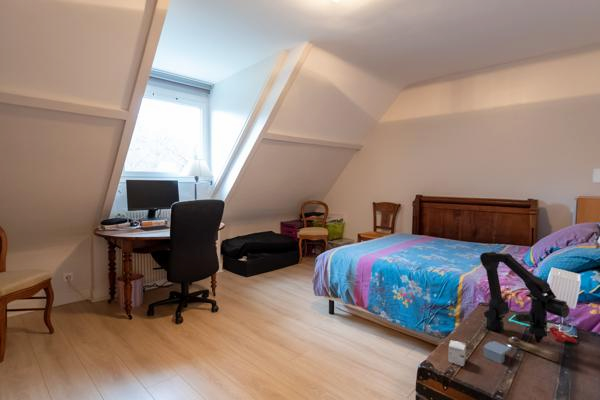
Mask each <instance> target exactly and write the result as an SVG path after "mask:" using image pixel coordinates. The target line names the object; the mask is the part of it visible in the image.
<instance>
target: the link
mask: <svg viewBox="0 0 600 400" xmlns="http://www.w3.org/2000/svg"><path fill="white" fill-rule="evenodd" d="M508 341H509V344H510V345H512V346H515V347H519V348H521V350H524V351H527V352H530V353H532V354H535V355H536V356H537V355H538V356H540V357H542V358H544V359H547V360H550V361H551V362H552V361H553V362H554V363H556V362H558V361H559V360H560V359H559V356H560V354H558V353H557V352H553V351H550V350H548V349H545V348H542V347H540V346H537V345H534V344H531V343H529V342H526V341H524V340H521V339H519V338H518V340H513V339H512V336H511V337H509V338H508Z"/></svg>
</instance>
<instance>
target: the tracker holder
mask: <svg viewBox="0 0 600 400" xmlns="http://www.w3.org/2000/svg"><path fill="white" fill-rule="evenodd" d="M548 328H549V332H550V334H551V336H552V338H553V339H554V340H555V341H557V342H559V343H562V342H568V343H569V342H570V343H573V344H577V343H578V340H577V339H576V338H575V337H574V336H573V335H571V334H570V333H567V332H565V331H560V328H557V327H555V326H549V327H548Z"/></svg>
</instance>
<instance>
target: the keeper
mask: <svg viewBox="0 0 600 400" xmlns="http://www.w3.org/2000/svg"><path fill="white" fill-rule="evenodd" d="M511 350H512V348H510V347H508V346H507V345H506V344H502V343H500V342H498V341H494V340H493V341H489V342H487V343H485V344H484V345H483V357H484V358H487V359H488V360H490V361H493V362H495V363H498V364H500V365H502V364H503V363H504V362H505V357H506V356H505V355H506V354H507V353H508V352H511Z"/></svg>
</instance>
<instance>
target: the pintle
mask: <svg viewBox="0 0 600 400" xmlns="http://www.w3.org/2000/svg"><path fill="white" fill-rule="evenodd" d="M511 337H512V339H513V340H518V339H519V338H518V337H517V336H511ZM504 345H505V346H507V347H510V348H511V349H514V350H518V349H521V348H519V347H515V346H512V345H510V344H509V340H507V341H505V343H504ZM521 350H522V349H521Z"/></svg>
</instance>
